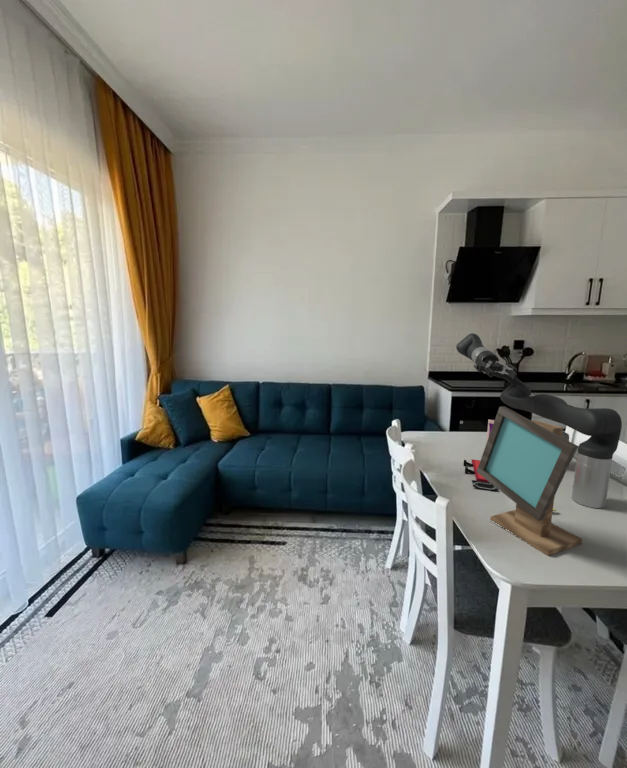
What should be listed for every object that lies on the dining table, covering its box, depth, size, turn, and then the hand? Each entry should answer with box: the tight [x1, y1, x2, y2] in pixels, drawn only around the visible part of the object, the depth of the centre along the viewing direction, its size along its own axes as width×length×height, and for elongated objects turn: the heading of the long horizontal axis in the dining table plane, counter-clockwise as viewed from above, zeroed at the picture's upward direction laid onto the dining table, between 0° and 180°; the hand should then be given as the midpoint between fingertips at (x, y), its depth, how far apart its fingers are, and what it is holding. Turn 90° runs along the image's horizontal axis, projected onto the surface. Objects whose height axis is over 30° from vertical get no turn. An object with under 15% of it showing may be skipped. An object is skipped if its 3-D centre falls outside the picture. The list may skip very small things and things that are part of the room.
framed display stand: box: [489, 419, 583, 557], centre depth 98 cm, size 14×18×33 cm
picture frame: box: [477, 405, 579, 521], centre depth 98 cm, size 2×22×24 cm, turn 22°
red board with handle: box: [463, 459, 499, 491], centre depth 140 cm, size 30×3×15 cm
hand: (503, 375), depth 125 cm, fingers open, 8 cm apart
